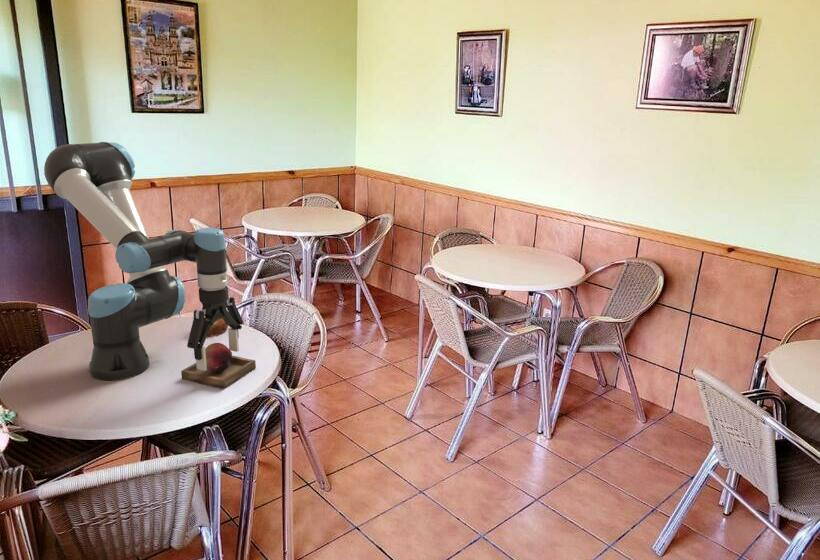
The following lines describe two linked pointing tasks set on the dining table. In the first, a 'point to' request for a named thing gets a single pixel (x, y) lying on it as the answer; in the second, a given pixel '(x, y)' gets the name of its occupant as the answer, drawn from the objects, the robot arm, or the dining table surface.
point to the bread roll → (217, 327)
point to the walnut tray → (220, 373)
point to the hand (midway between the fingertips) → (218, 359)
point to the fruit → (217, 357)
